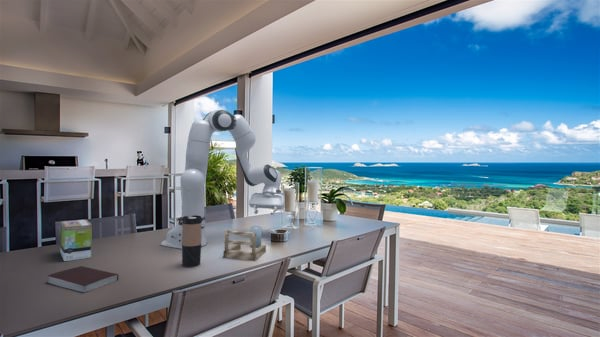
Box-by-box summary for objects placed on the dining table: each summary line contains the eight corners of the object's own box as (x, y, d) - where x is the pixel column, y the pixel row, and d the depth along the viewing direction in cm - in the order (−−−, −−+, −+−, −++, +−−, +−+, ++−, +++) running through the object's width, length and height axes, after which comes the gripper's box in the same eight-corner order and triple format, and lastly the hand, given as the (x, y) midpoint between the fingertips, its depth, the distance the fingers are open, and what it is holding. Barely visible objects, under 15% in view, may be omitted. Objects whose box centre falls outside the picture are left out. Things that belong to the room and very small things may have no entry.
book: (82, 273, 125) (82, 264, 124) (118, 281, 117) (119, 272, 117) (46, 284, 113) (46, 275, 113) (84, 294, 106) (84, 284, 106)
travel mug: (194, 268, 132) (195, 219, 131) (177, 266, 133) (178, 217, 133) (204, 262, 139) (205, 215, 139) (187, 260, 141) (188, 214, 140)
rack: (223, 257, 147) (223, 231, 146) (236, 248, 161) (237, 224, 161) (254, 260, 143) (255, 233, 143) (265, 251, 158) (266, 226, 158)
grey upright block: (248, 247, 164) (249, 227, 164) (252, 244, 169) (252, 225, 169) (258, 248, 163) (259, 228, 162) (262, 245, 168) (263, 226, 168)
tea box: (92, 257, 141) (92, 223, 141) (63, 262, 135) (63, 226, 134) (86, 249, 153) (86, 218, 152) (59, 253, 146) (60, 220, 146)
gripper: (251, 189, 186) (244, 209, 177) (285, 191, 182) (280, 211, 173) (253, 196, 191) (247, 215, 182) (287, 198, 187) (282, 218, 177)
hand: (263, 213), depth 177 cm, fingers open, 8 cm apart
